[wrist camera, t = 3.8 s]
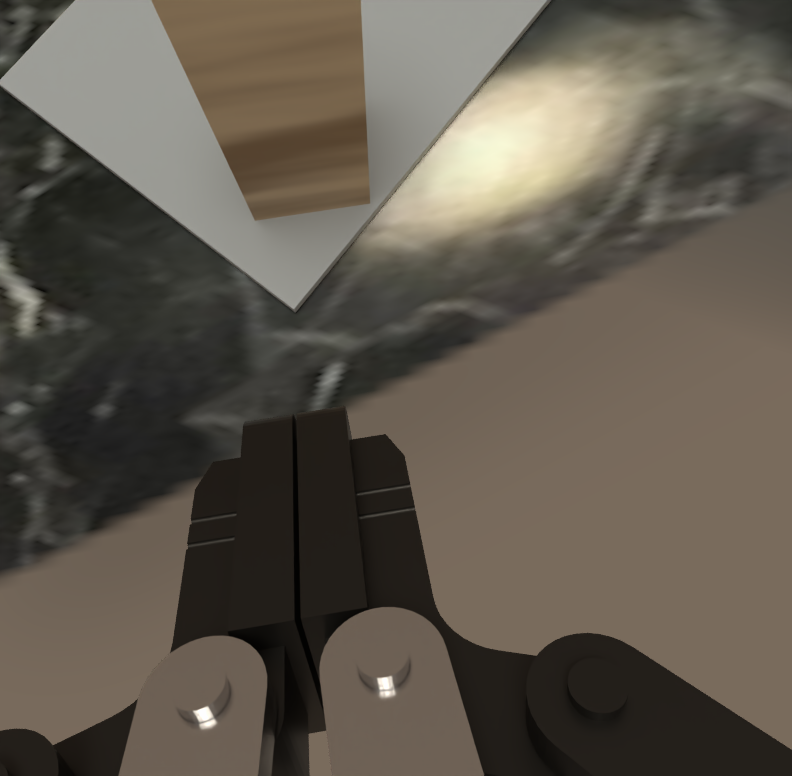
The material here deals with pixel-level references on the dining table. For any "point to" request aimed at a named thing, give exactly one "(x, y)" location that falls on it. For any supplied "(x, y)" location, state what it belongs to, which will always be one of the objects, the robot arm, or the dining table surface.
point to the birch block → (280, 96)
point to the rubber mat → (198, 147)
